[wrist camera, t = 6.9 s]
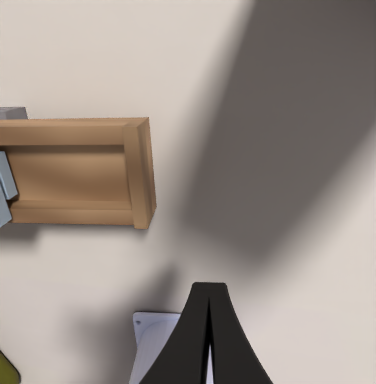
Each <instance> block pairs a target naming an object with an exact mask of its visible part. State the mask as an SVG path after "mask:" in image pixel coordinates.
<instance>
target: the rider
mask: <svg viewBox="0 0 376 384" xmlns="http://www.w3.org/2000/svg"><path fill="white" fill-rule="evenodd" d="M17 194H18V193H17V190H16V187H15V183H14V180H13V177H12V174H11V171H10V168H9V164H8V161H7V158H6V155H5V152H4V151H0V227H2V226H3V225H4V224H6V223H7V222H8V221H10V220H11V219H12V218H11V215H10V212H9V209H8V206H7V203H6V200H5V199H11V198H12V197H14V196H15V195H17Z"/></svg>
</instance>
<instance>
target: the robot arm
mask: <svg viewBox="0 0 376 384" xmlns="http://www.w3.org/2000/svg"><path fill="white" fill-rule="evenodd" d="M133 324H134V331H135V337H136V344H137V354H136V358H135V361H134V365H133V369H132V373H131V377H130V380H129V384H273V383H272V381H271V380H270V378H269V377H268V375H267V373H266V372H265V370H264V368H263V367H262V365H261V363H260V362H259V360H258V358H257V356H256V355H255V353H254V351H253V349H252V347H251V345H250V343H249V341H248V339H247V338H246V335H245V333H244V331H243V329H242V327H241V325H240V322H239V320H238V318H237V316H236V313H235V311H234V308H233V305H232V303H231V300H230V296H229V293H228V289H227V285H226V284H225V283H212V282H195V283H193V284H192V288H191V291H190V294H189V297H188V300H187V302H186V304H185V307H184V309H183V311H182V313H181V314H172V313H151V312H135V313H134V314H133Z"/></svg>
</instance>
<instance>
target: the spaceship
mask: <svg viewBox="0 0 376 384" xmlns="http://www.w3.org/2000/svg"><path fill="white" fill-rule="evenodd" d="M0 384H19V376H18V373H17V371H16V369H15V368H14V367H13V366H12V365H11V364H10V363H9V362H8V360H7V359H6V358H5V357H4V356H3V355H2V354H1V352H0Z"/></svg>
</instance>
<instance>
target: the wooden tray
mask: <svg viewBox="0 0 376 384" xmlns="http://www.w3.org/2000/svg"><path fill="white" fill-rule="evenodd" d="M0 151H4V152H5V155H6V158H7V161H8V164H9V168H10V171H11V174H12V177H13V180H14V183H15V187H16V190H17V193H18V194H17V195H15V196H14V197H12V198H11V199H5V200H6V203H7V206H8V209H9V212H10V215H11V218H12V219H11V220H10V221H8V222H7V223H59V224H112V225H134V228H135V229H148V227H149V224H150V222H151V219H152V217H153V214H154V212H155V209H156V195H155V184H154V172H153V160H152V149H151V137H150V125H149V117H146V118H81V119H28V118H27V114H26V111H25V107H0Z"/></svg>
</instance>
